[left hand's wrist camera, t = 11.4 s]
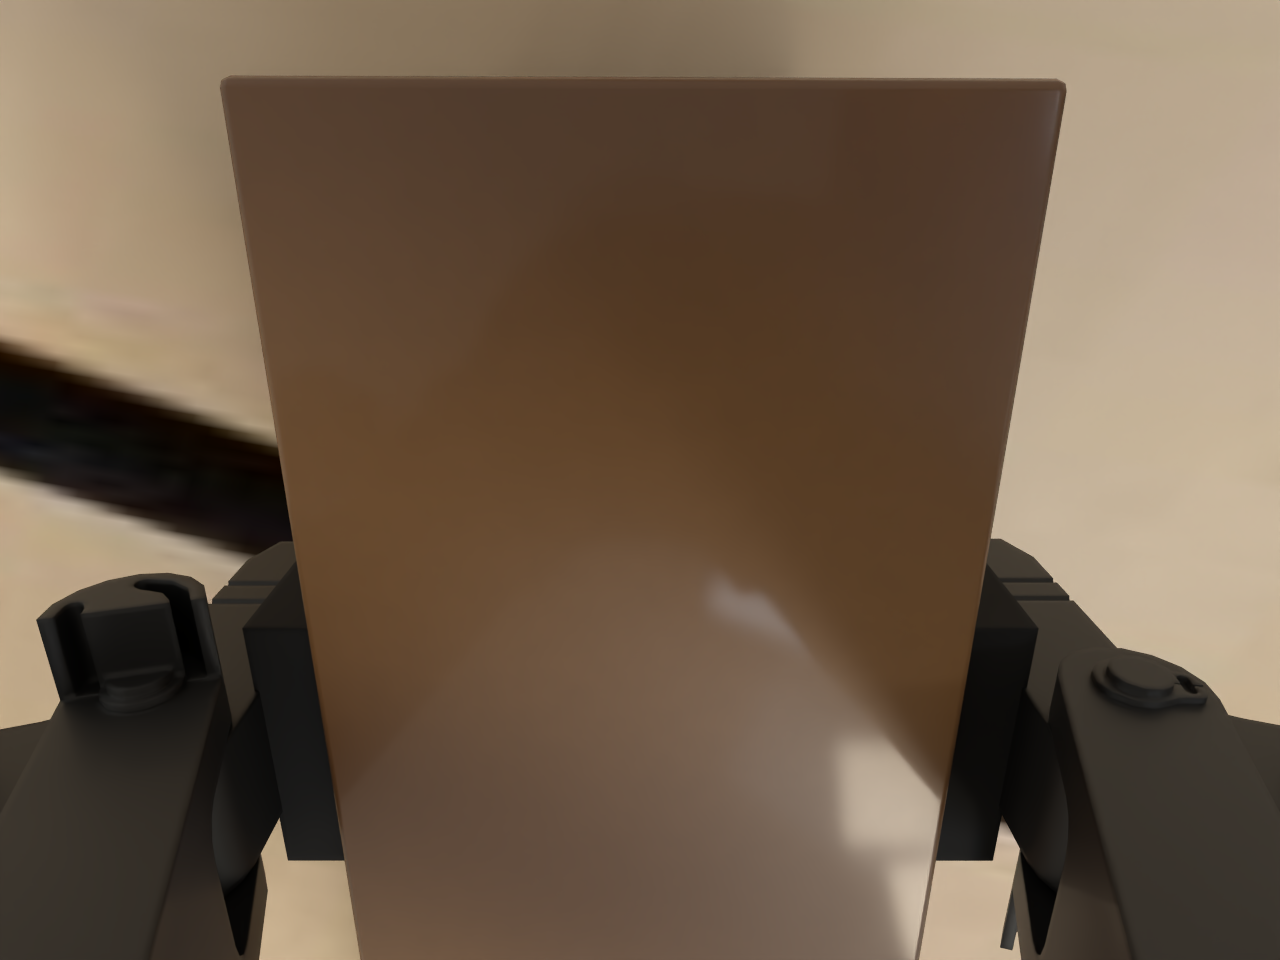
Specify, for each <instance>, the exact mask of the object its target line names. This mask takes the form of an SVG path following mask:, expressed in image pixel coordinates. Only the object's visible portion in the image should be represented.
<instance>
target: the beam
mask: <svg viewBox="0 0 1280 960" xmlns="http://www.w3.org/2000/svg"><path fill="white" fill-rule="evenodd" d="M220 89H221V96H222V102H223V108H224V114H225V120H226V127H227V133H228V139H229V145H230V151H231V158H232V164H233V170H234V176H235V182H236V189H237V195H238V201H239V207H240V213H241V220H242V226H243V232H244V238H245V245H246V251H247V257H248V263H249V269H250V276H251V282H252V288H253V294H254V300H255V307H256V313H257V319H258V325H259V331H260V338H261V344H262V350H263V356H264V362H265V369H266V375H267V381H268V387H269V393H270V400H271V406H272V412H273V418H274V424H275V431H276V437H277V443H278V449H279V456H280V462H281V468H282V474H283V480H284V487H285V493H286V499H287V505H288V511H289V518H290V524H291V530H292V536H293V542H294V549H295V555H296V561H297V567H298V573H299V580H300V586H301V592H302V598H303V604H304V611H305V617H306V623H307V629H308V635H309V642H310V648H311V654H312V660H313V666H314V673H315V679H316V685H317V691H318V698H319V704H320V710H321V716H322V722H323V729H324V735H325V741H326V747H327V753H328V760H329V766H330V772H331V778H332V784H333V791H334V797H335V803H336V809H337V815H338V822H339V828H340V834H341V840H342V846H343V853H344V859H345V865H346V871H347V877H348V884H349V890H350V896H351V902H352V909H353V915H354V921H355V927H356V933H357V940H358V946H359V952H360V958H361V960H919V956H920V950H921V944H922V938H923V932H924V927H925V921H926V915H927V909H928V903H929V897H930V891H931V885H932V879H933V874H934V868H935V862H936V856H937V850H938V844H939V838H940V832H941V827H942V821H943V815H944V809H945V803H946V797H947V791H948V785H949V779H950V774H951V768H952V762H953V756H954V750H955V744H956V738H957V732H958V727H959V721H960V715H961V709H962V703H963V697H964V691H965V685H966V679H967V674H968V668H969V662H970V656H971V650H972V644H973V638H974V632H975V627H976V621H977V615H978V609H979V603H980V597H981V591H982V585H983V579H984V574H985V568H986V562H987V556H988V550H989V544H990V538H991V532H992V527H993V521H994V515H995V509H996V503H997V497H998V491H999V485H1000V479H1001V474H1002V468H1003V462H1004V456H1005V450H1006V444H1007V438H1008V432H1009V427H1010V421H1011V415H1012V409H1013V403H1014V397H1015V391H1016V385H1017V380H1018V374H1019V368H1020V362H1021V356H1022V350H1023V344H1024V338H1025V332H1026V327H1027V321H1028V315H1029V309H1030V303H1031V297H1032V291H1033V285H1034V280H1035V274H1036V268H1037V262H1038V256H1039V250H1040V244H1041V238H1042V232H1043V227H1044V221H1045V215H1046V209H1047V203H1048V197H1049V191H1050V185H1051V180H1052V174H1053V168H1054V162H1055V156H1056V150H1057V144H1058V138H1059V132H1060V127H1061V121H1062V115H1063V109H1064V103H1065V97H1066V84H1065V83H1064V82H1062V81H1060V80H1058V79H985V78H714V77H443V76H229V77H227V78H225V79H223V80H222V81H221V87H220Z"/></svg>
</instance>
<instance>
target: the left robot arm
mask: <svg viewBox="0 0 1280 960" xmlns="http://www.w3.org/2000/svg"><path fill="white" fill-rule="evenodd" d="M228 582H229V584H228V586H224V587H223V588H222V589H221V590H220V591H219V592H218V593H217V595H216V596H215V597H214V598H213V599H212V604H208V602H207V597H206V593H205V588H204V585H203V584H201V583H200V582H198V581H196V580H195V579H193V578H192V577H189V576H183V575H178V574H172V573H156V574H138V575H133V576H128V577H123V578H118V579H113V580H108V581H105V582H102V583H99V584H96V585H93V586H90V587H87V588H85V589H82V590H79V591H77V592H75V593H73V594H71V595H69V596H67V597H65V598H64V599H62V600H60V601H58V602H56V603H54V604H52V605H51V606H50V607H49V608H48V609H47V610H46V611H45V612H44V613H43V614H42V615H41V616H40V617H39V618H38V619H37V620H36V621H37V624H38V627H39V631H40V634H41V637H42V641H43V644H44V647H45V651H46V654H47V657H48V661H49V664H50V667H51V671H52V674H53V677H54V681H55V684H56V688H57V691H58V694H59V698H60V702H59V704H58V706H57V708H56V710H55V712H54V714H53V715H52V717H51V719H50V720H46V721H42V722H38V723H32V724H27V725H22V726H16V727H11V728H6V729H0V960H259V955H260V947H261V940H262V932H263V924H264V916H265V908H266V900H267V892H268V889H267V883H266V876H265V871H264V866H263V861H262V857H261V852H262V850H263V848H264V846H265V844H266V842H267V840H268V838H269V837H270V835H271V833H272V831H273V829H274V827H275V825H276V823H277V821H278V819H279V817H280V822H281V827H282V832H283V837H284V842H285V847H286V853H287V858H288V860H345V859H344V853H343V846H342V840H341V834H340V828H339V822H338V815H337V809H336V803H335V797H334V791H333V784H332V778H331V772H330V766H329V760H328V753H327V747H326V741H325V735H324V729H323V722H322V716H321V710H320V704H319V698H318V691H317V685H316V679H315V673H314V666H313V660H312V654H311V648H310V642H309V635H308V629H307V623H306V617H305V611H304V604H303V598H302V592H301V586H300V580H299V573H298V567H297V561H296V555H295V549H294V542H279V543H277V544H276V545H274V546H272V547H270V548H268V549H267V550H265V551H263V552H261V553H260V554H258V555H256V556H254V557H252V558H251V559H249V560H248V561H247V562H246V563H245V564H244V565H243V566H242V567H241V568H240V569H239V570H238V572H237V573H236V574H235V575H234V576H233V577H232V578H231V579H230V580H229V581H228ZM1002 815H1003V817H1004V819H1005V821H1006V823H1007V825H1008V827H1009V828H1010V830H1011V832H1012V834H1013V836H1014V838H1015V840H1016V842H1017V844H1018V846H1019V847H1020V852H1019V857H1018V861H1017V866H1016V871H1015V876H1014V880H1013V885H1012V890H1011V894H1010V899H1009V904H1008V909H1007V913H1006V918H1005V923H1004V927H1003V933H1002V939H1001V945H1000V948H1005V949H1009V950H1012V949H1013V945H1014V940H1015V936H1016V932H1018V937H1019V945H1020V953H1021V960H1280V725H1275V724H1270V723H1264V722H1259V721H1253V720H1248V719H1243V718H1238V717H1234V716H1230V715H1228V714H1227V712H1226V710H1225V708H1224V706H1223V704H1222V703H1221V701H1220V699H1219V698H1218V697H1217V696H1216V695H1215V693H1214V692H1213V691H1212V690H1211V689H1210V688H1209V686H1208V685H1207V684H1206V683H1205V682H1203V681H1202V680H1200V679H1199V678H1197V677H1196V676H1194V675H1193V674H1191V673H1190V672H1188V671H1186V670H1185V669H1183V668H1182V667H1180V666H1177V665H1175V664H1172V663H1170V662H1167V661H1165V660H1162V659H1160V658H1158V657H1155V656H1153V655H1149V654H1144V653H1140V652H1135V651H1131V650H1127V649H1122V648H1116V646H1115V645H1114V644H1113V643H1112V642H1111V641H1110V640H1109V639H1108V638H1107V637H1106V636H1105V635H1104V633H1103V632H1102V631H1101V630H1100V629H1099V628H1098V627H1097V626H1096V625H1095V624H1094V623H1093V621H1092V620H1091V619H1090V618H1089V617H1088V616H1087V615H1086V614H1085V613H1084V612H1083V611H1082V609H1081V608H1080V607H1079V606H1078V605H1077V604H1076V603H1075V602H1074V601H1070V600H1069V595H1068V594H1067V593H1066V592H1065V591H1064V590H1063V589H1062V588H1061V587H1060V585H1059V584H1058V583H1053V578H1052V577H1051V576H1050V575H1049V573H1048V572H1047V571H1046V570H1045V569H1044V568H1043V567H1042V566H1041V565H1040V564H1039V563H1038V562H1037V560H1036V559H1035V558H1034V557H1032V556H1031V555H1029V554H1027V553H1025V552H1023V551H1022V550H1020V549H1018V548H1016V547H1014V546H1013V545H1011V544H1009V543H1007V542H1005V541H1004V540H1002V539H990V544H989V550H988V556H987V562H986V568H985V574H984V579H983V585H982V591H981V597H980V603H979V609H978V615H977V621H976V627H975V632H974V638H973V644H972V650H971V656H970V662H969V668H968V674H967V679H966V685H965V691H964V697H963V703H962V709H961V715H960V721H959V727H958V732H957V738H956V744H955V750H954V756H953V762H952V768H951V774H950V779H949V785H948V791H947V797H946V803H945V809H944V815H943V821H942V827H941V832H940V838H939V844H938V850H937V856H936V861H993V857H994V852H995V847H996V842H997V837H998V832H999V826H1000V821H1001V816H1002Z"/></svg>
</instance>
